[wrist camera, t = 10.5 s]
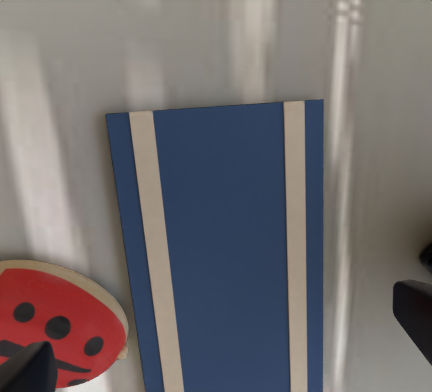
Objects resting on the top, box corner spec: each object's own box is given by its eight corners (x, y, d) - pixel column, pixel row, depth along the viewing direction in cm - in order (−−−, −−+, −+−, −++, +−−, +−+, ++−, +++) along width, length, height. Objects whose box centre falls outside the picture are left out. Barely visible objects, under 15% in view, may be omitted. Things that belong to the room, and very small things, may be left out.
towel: (107, 114, 17) (104, 113, 16) (318, 100, 19) (324, 99, 18) (154, 444, 22) (154, 454, 21) (318, 409, 24) (323, 417, 23)
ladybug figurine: (-25, 234, 17) (-71, 261, 14) (151, 286, 19) (148, 320, 16) (-58, 340, 18) (-110, 390, 15) (113, 378, 20) (103, 429, 17)
